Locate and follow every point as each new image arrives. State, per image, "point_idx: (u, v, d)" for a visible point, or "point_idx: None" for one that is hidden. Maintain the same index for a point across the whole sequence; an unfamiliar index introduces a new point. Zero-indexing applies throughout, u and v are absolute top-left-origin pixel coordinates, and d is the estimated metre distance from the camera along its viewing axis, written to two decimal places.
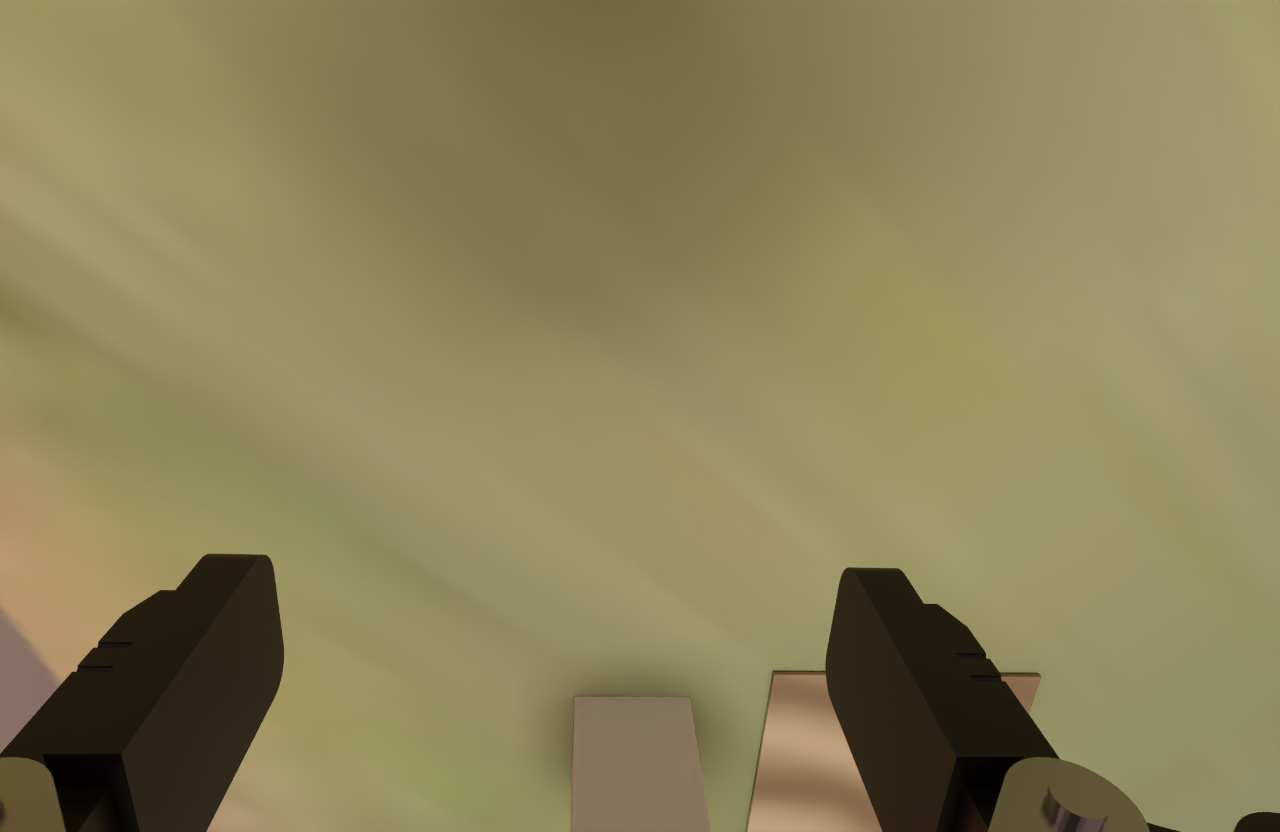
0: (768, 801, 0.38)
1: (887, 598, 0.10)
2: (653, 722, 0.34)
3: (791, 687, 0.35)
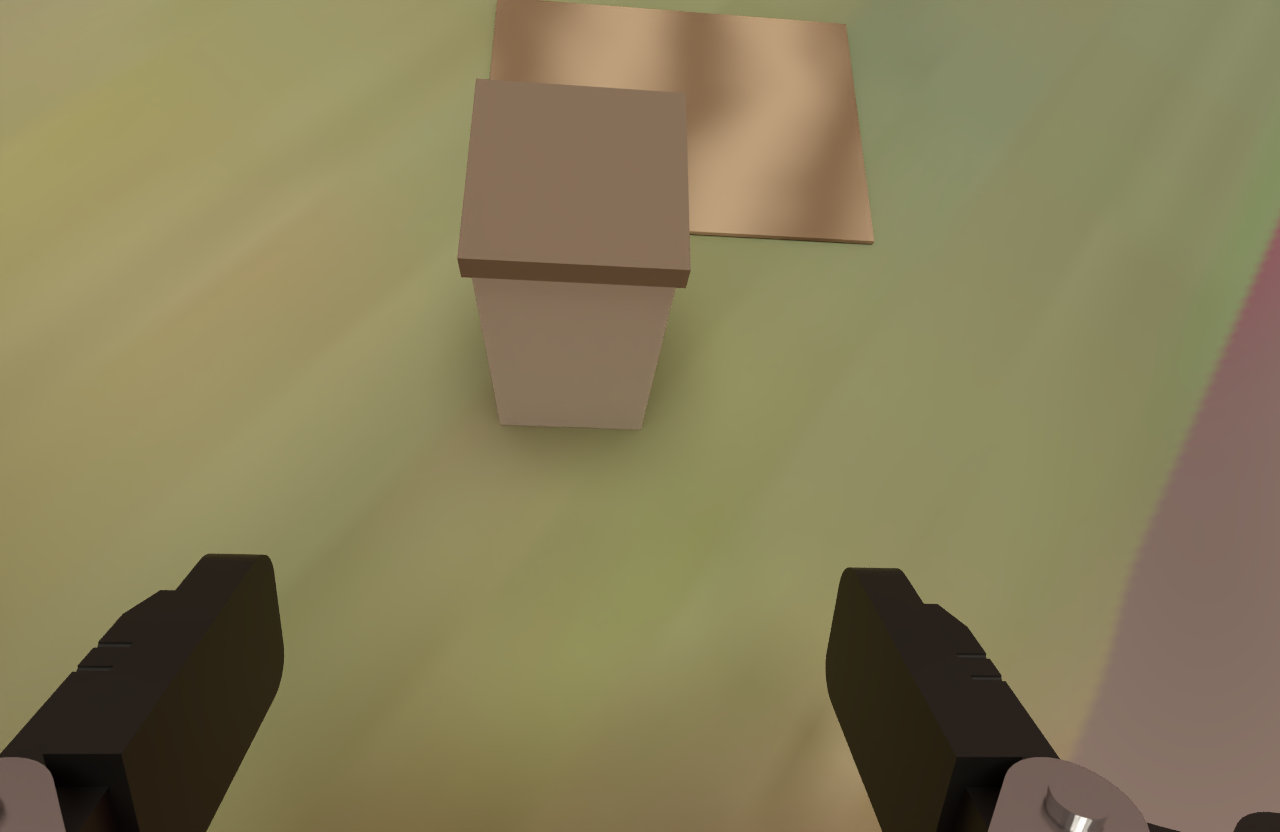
0: None
1: (887, 598, 0.10)
2: None
3: None
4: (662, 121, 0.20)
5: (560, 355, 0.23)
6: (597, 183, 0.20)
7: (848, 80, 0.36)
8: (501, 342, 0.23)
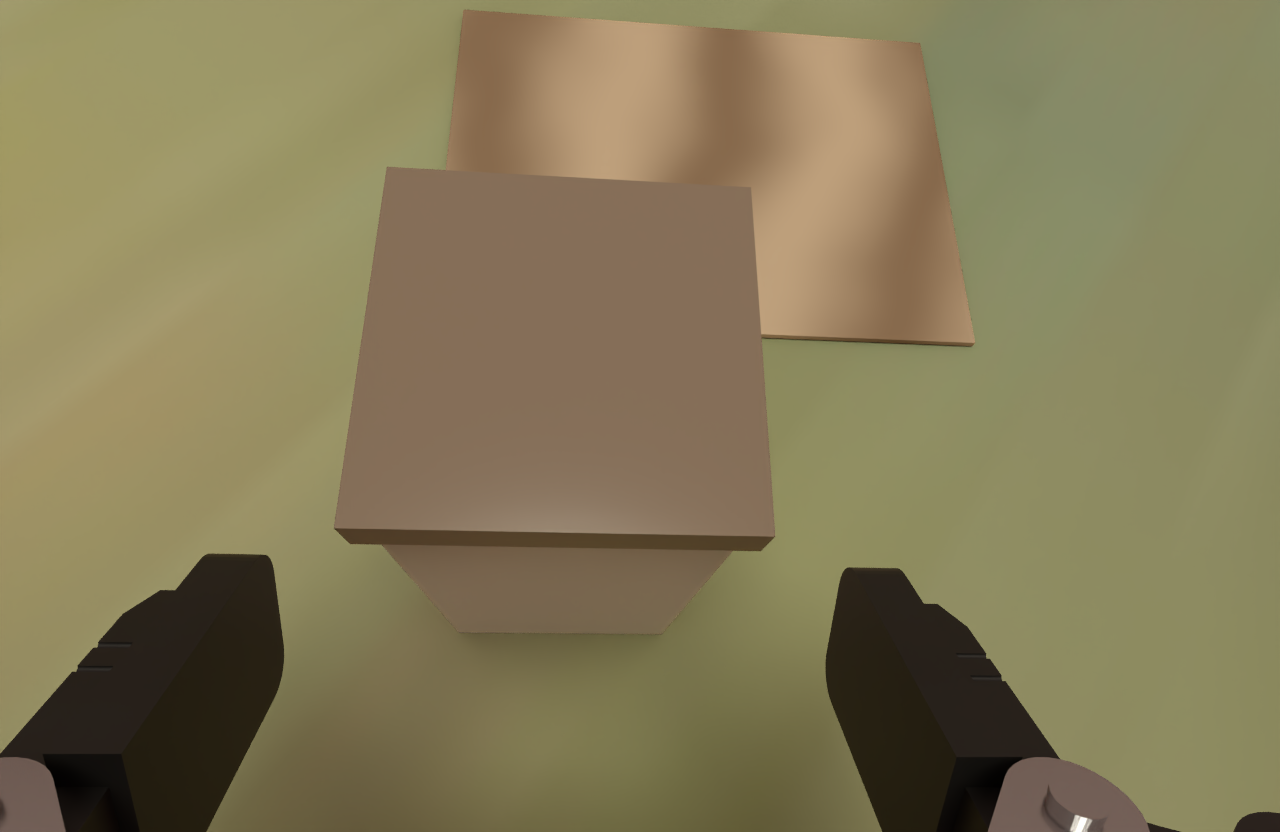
0: None
1: (887, 598, 0.10)
2: None
3: None
4: (712, 240, 0.12)
5: (541, 592, 0.15)
6: (600, 364, 0.11)
7: (927, 118, 0.27)
8: (443, 583, 0.14)
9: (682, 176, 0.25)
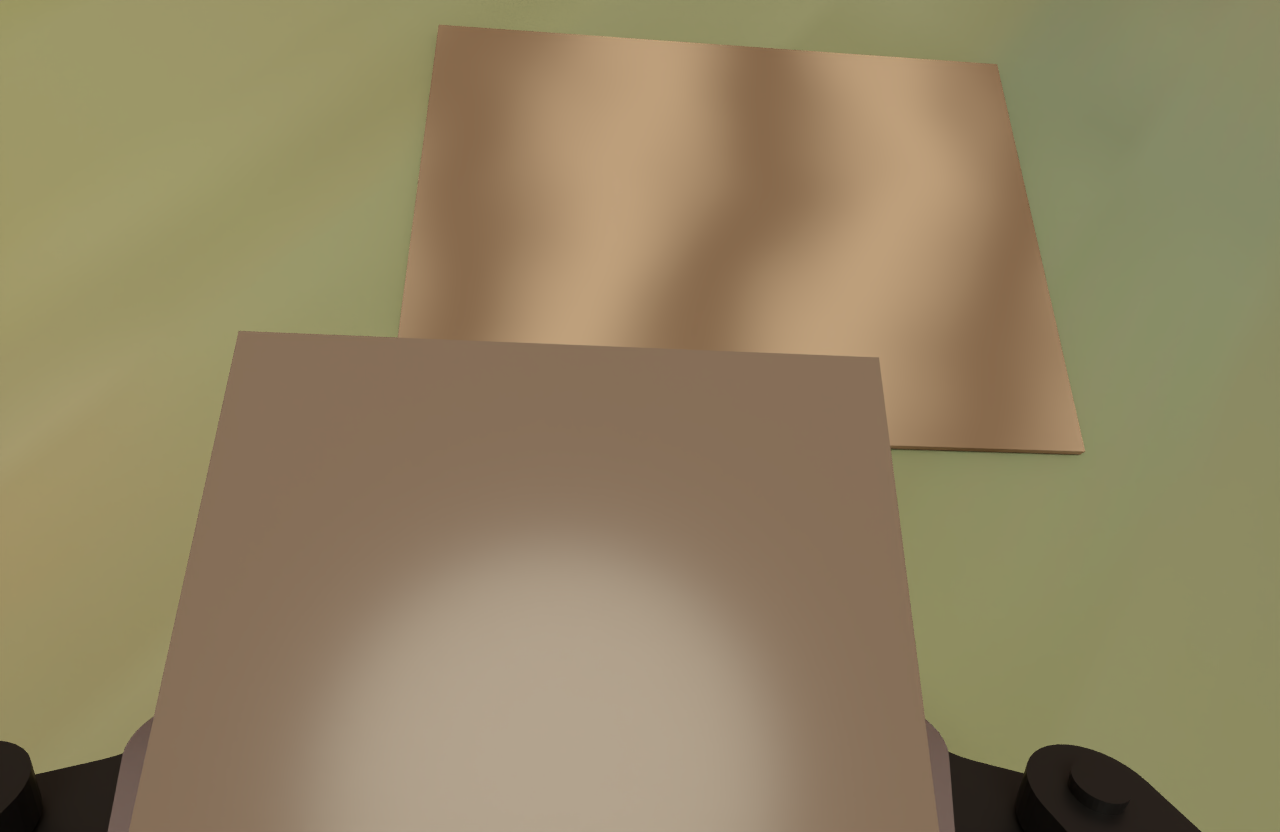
0: None
1: None
2: None
3: None
4: (818, 463, 0.07)
5: None
6: (618, 734, 0.06)
7: (1011, 158, 0.22)
8: None
9: (710, 234, 0.20)
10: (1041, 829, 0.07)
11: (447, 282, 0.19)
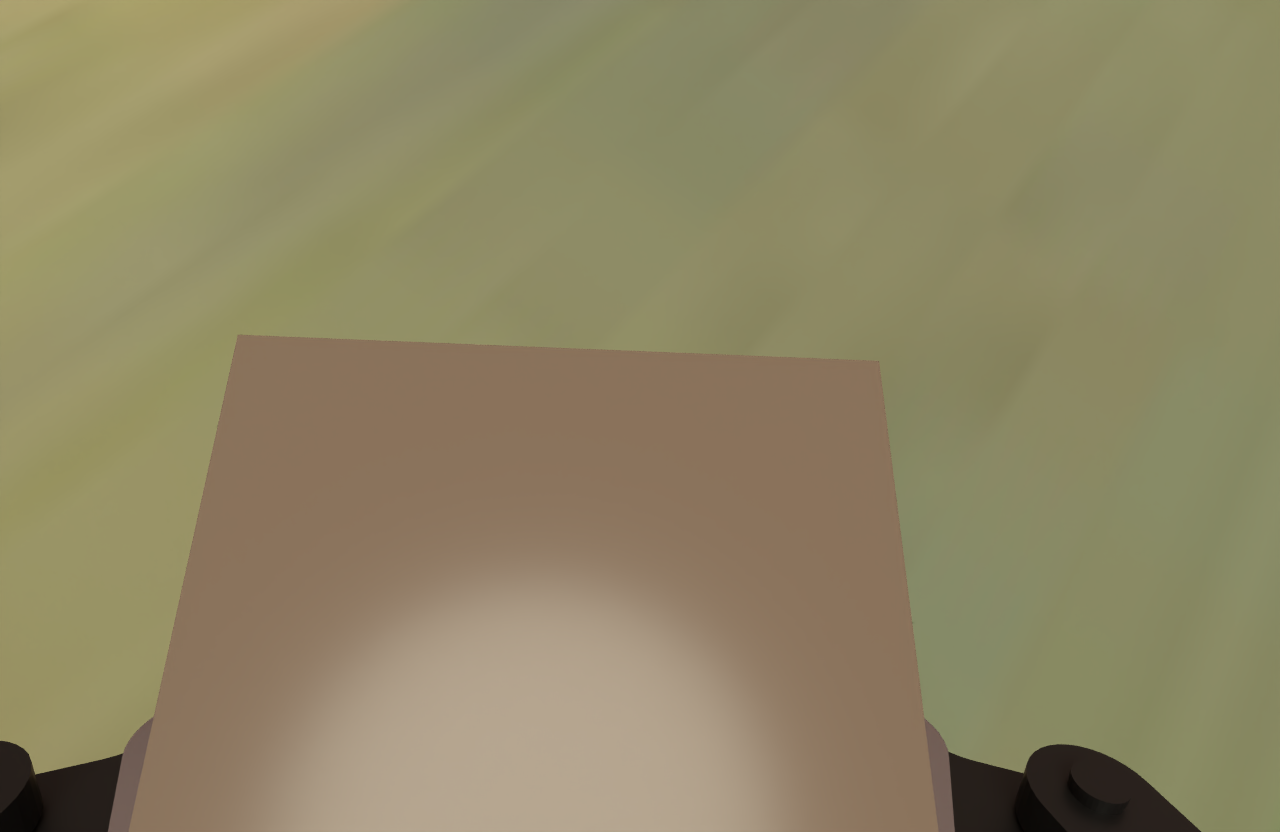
0: None
1: None
2: None
3: None
4: (818, 467, 0.07)
5: None
6: (620, 738, 0.06)
7: None
8: None
9: None
10: (1041, 829, 0.07)
11: None
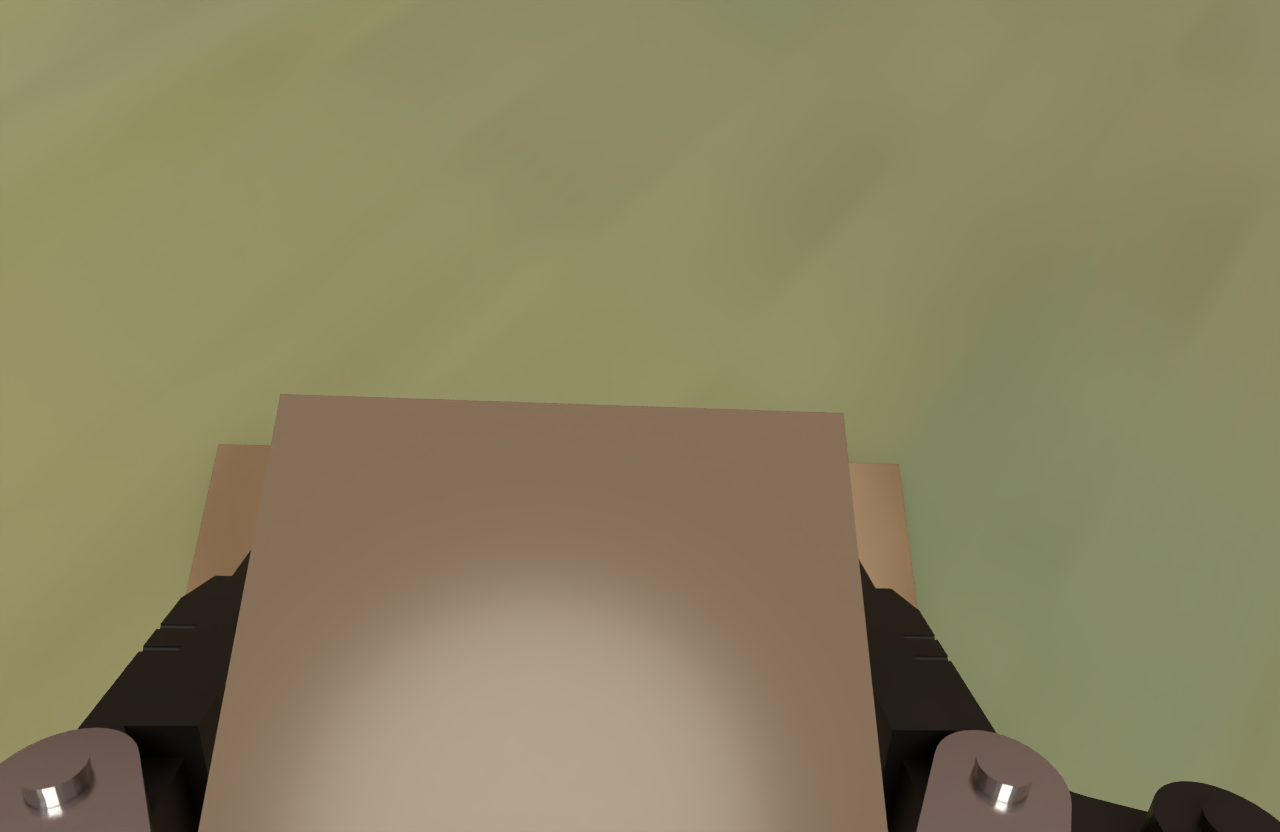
0: None
1: None
2: None
3: None
4: (788, 509, 0.08)
5: None
6: (613, 748, 0.07)
7: None
8: None
9: None
10: None
11: None
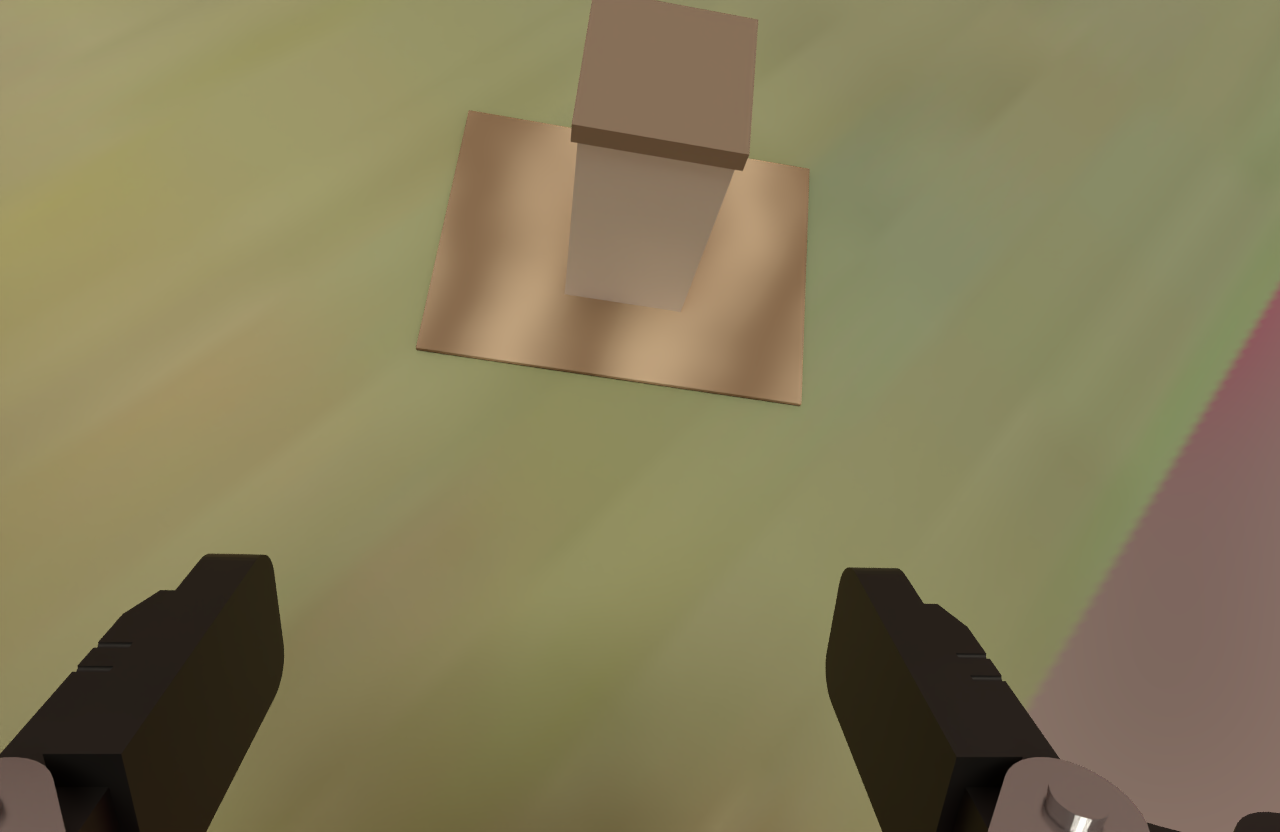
0: (606, 358, 0.33)
1: (887, 598, 0.10)
2: None
3: (437, 331, 0.33)
4: (737, 39, 0.26)
5: (630, 228, 0.29)
6: (682, 81, 0.25)
7: (802, 230, 0.37)
8: (586, 209, 0.28)
9: None
10: None
11: (457, 269, 0.34)
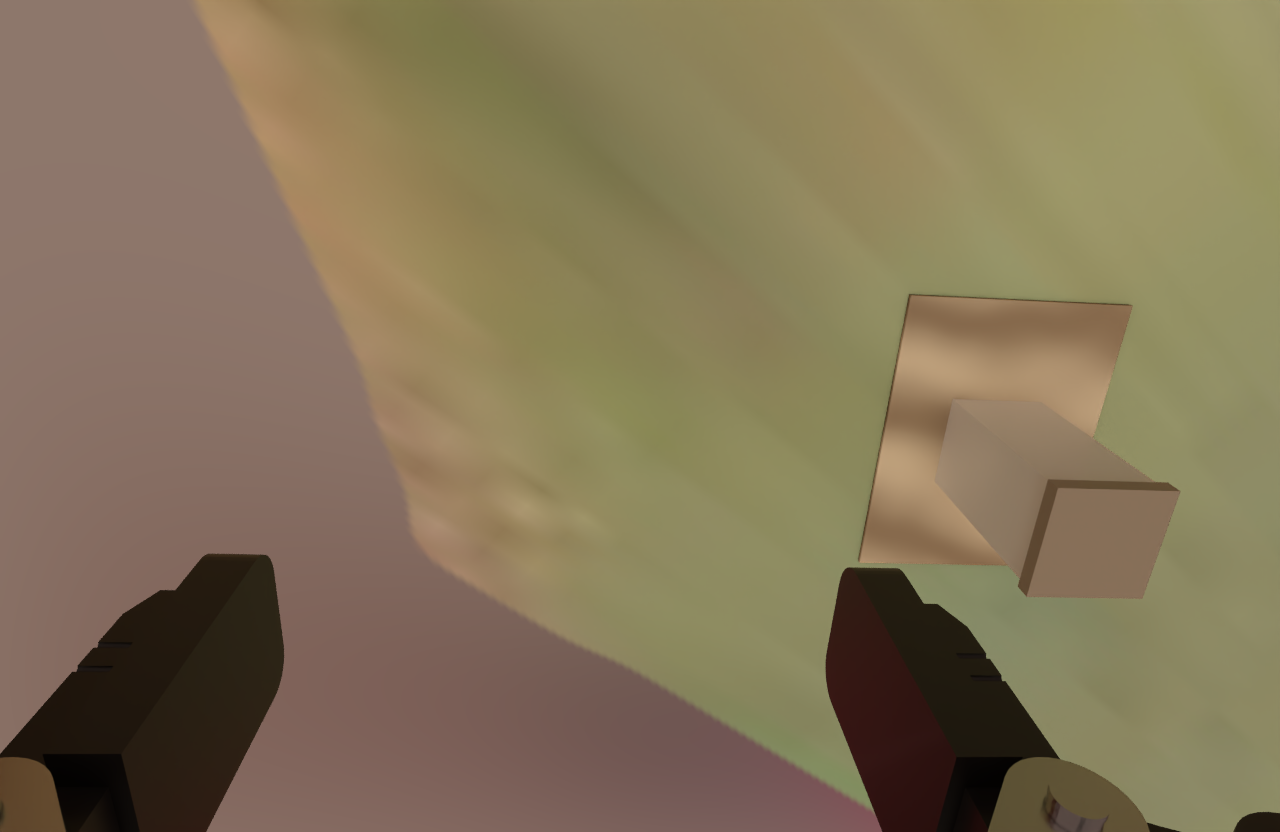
0: (898, 432, 0.44)
1: (887, 598, 0.10)
2: (1025, 411, 0.42)
3: (924, 309, 0.41)
4: (1125, 586, 0.36)
5: (992, 481, 0.39)
6: (1090, 554, 0.35)
7: (999, 562, 0.48)
8: (1007, 457, 0.38)
9: None
10: None
11: (977, 317, 0.42)
